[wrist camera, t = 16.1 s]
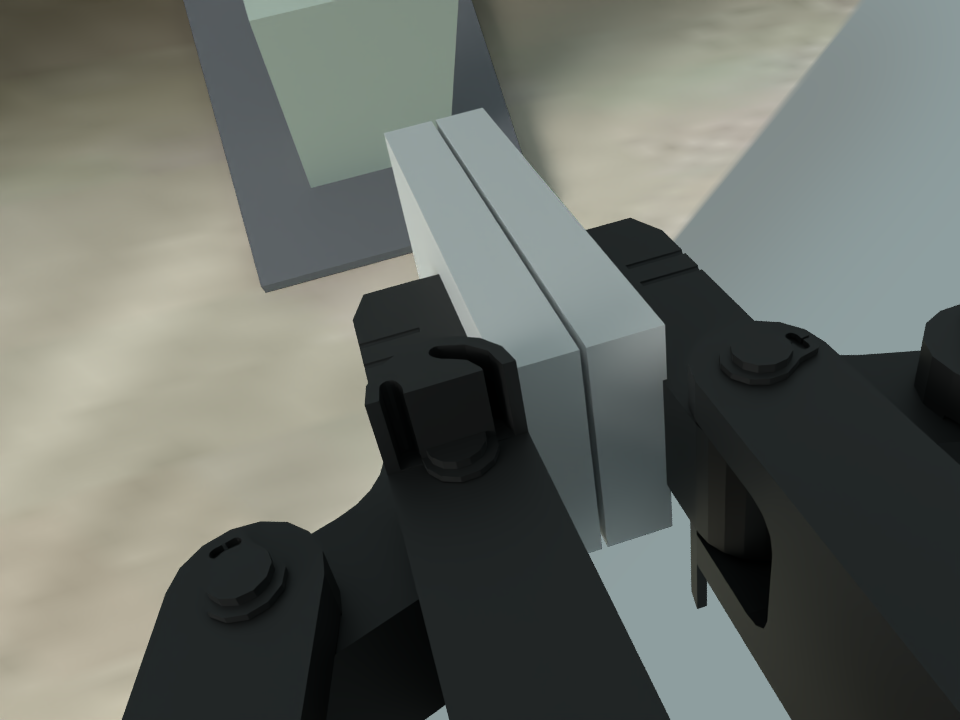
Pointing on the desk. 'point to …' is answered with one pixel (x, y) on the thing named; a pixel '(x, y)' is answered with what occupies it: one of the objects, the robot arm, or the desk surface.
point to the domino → (355, 74)
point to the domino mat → (279, 171)
